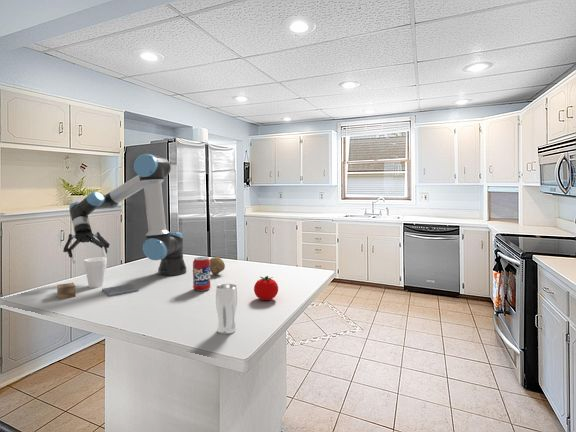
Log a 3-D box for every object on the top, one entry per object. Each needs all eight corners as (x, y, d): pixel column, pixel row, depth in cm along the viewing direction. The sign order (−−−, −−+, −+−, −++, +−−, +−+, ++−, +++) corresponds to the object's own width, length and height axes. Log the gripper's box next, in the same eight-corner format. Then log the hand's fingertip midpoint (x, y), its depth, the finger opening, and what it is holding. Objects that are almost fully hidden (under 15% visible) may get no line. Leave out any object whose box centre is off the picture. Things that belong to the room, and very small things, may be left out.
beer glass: (226, 324, 116) (226, 282, 115) (241, 329, 112) (241, 285, 111) (211, 331, 110) (211, 287, 109) (226, 336, 106) (226, 290, 105)
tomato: (269, 305, 136) (269, 281, 135) (248, 300, 142) (248, 277, 141) (282, 298, 145) (283, 275, 144) (263, 294, 151) (263, 272, 150)
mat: (129, 285, 162) (129, 283, 162) (138, 291, 154) (138, 289, 154) (102, 290, 154) (102, 288, 154) (110, 296, 145) (110, 294, 145)
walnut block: (73, 293, 150) (73, 282, 149) (75, 296, 145) (75, 285, 145) (57, 296, 146) (56, 284, 146) (58, 299, 141) (58, 288, 141)
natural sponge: (223, 272, 190) (223, 255, 190) (225, 276, 182) (225, 258, 181) (207, 273, 187) (207, 255, 187) (208, 277, 179) (208, 259, 178)
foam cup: (97, 289, 156) (96, 261, 155) (80, 288, 158) (79, 260, 157) (111, 283, 165) (111, 257, 164) (95, 282, 167) (94, 256, 166)
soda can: (204, 286, 162) (204, 255, 161) (213, 289, 157) (213, 258, 156) (190, 289, 157) (189, 257, 156) (198, 293, 151) (198, 260, 150)
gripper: (107, 230, 185) (116, 261, 176) (52, 233, 168) (59, 268, 159) (109, 221, 181) (119, 252, 171) (54, 224, 164) (61, 259, 154)
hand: (90, 260), depth 165 cm, fingers open, 13 cm apart
